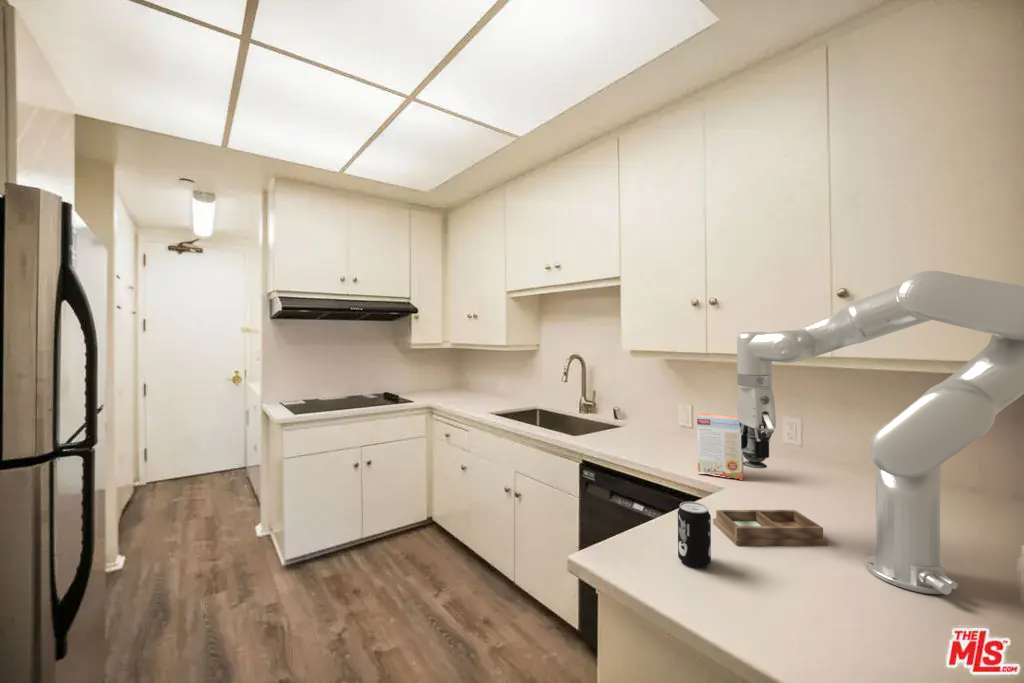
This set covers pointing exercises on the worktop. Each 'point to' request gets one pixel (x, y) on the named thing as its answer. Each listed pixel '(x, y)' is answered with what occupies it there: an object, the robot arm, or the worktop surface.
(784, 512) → the wooden divided tray
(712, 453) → the cracker box
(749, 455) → the salt shaker
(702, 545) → the beverage can
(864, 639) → the worktop surface
